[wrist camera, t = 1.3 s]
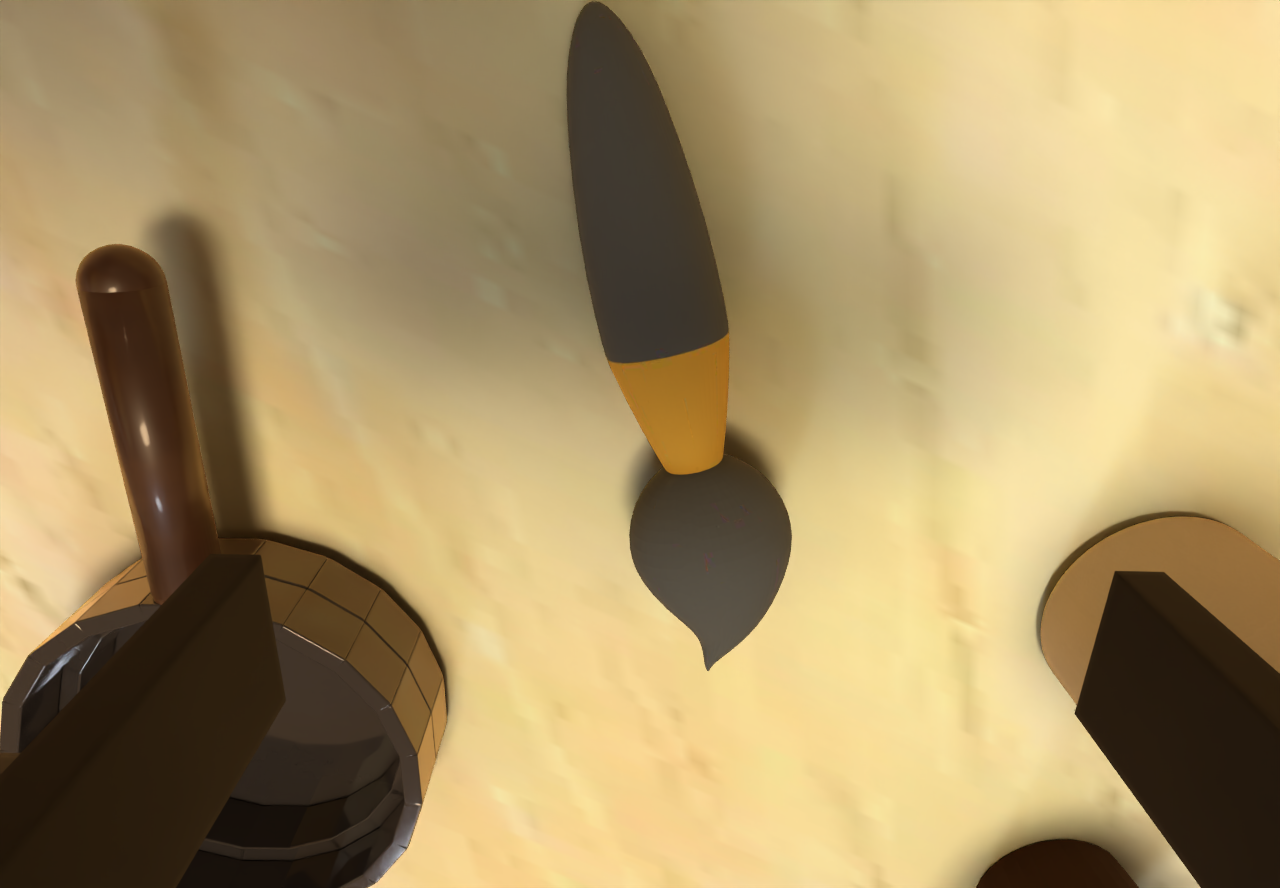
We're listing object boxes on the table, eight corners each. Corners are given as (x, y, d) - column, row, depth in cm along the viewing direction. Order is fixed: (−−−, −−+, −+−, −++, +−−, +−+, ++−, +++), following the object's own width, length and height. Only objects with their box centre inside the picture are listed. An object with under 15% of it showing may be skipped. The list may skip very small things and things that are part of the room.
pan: (46, 526, 28) (-56, 601, 24) (435, 533, 28) (402, 608, 24) (130, 816, 33) (58, 918, 29) (459, 819, 33) (434, 922, 29)
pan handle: (97, 237, 22) (48, 250, 20) (174, 239, 22) (131, 252, 20) (180, 602, 26) (146, 640, 24) (244, 603, 26) (214, 642, 24)
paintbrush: (463, 53, 22) (421, 43, 18) (638, -10, 22) (640, -37, 17) (672, 627, 30) (680, 725, 25) (806, 591, 29) (839, 684, 25)
